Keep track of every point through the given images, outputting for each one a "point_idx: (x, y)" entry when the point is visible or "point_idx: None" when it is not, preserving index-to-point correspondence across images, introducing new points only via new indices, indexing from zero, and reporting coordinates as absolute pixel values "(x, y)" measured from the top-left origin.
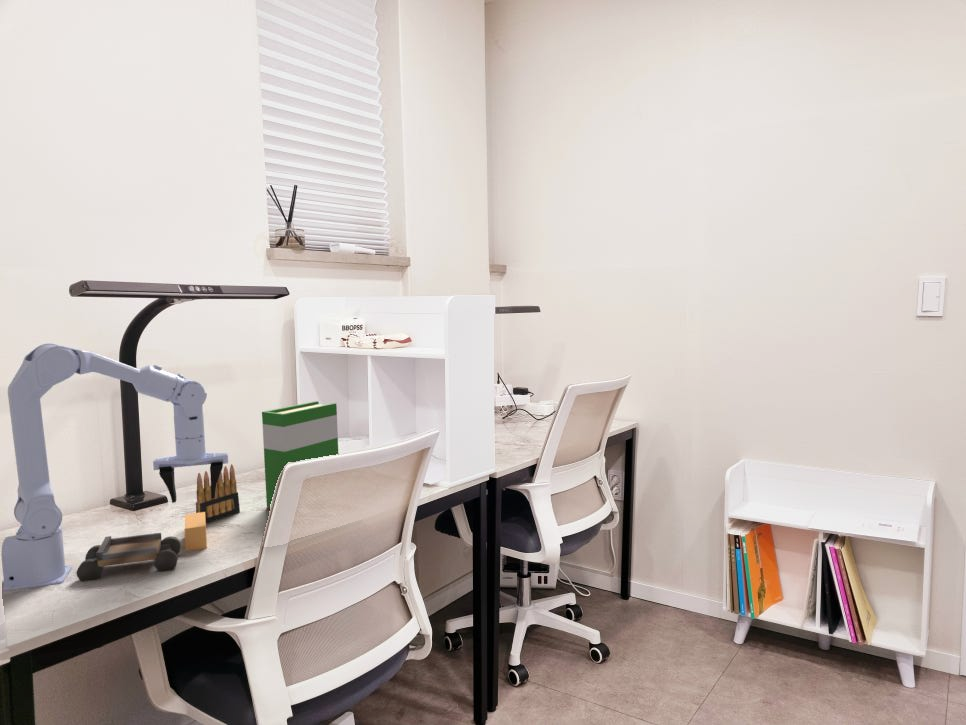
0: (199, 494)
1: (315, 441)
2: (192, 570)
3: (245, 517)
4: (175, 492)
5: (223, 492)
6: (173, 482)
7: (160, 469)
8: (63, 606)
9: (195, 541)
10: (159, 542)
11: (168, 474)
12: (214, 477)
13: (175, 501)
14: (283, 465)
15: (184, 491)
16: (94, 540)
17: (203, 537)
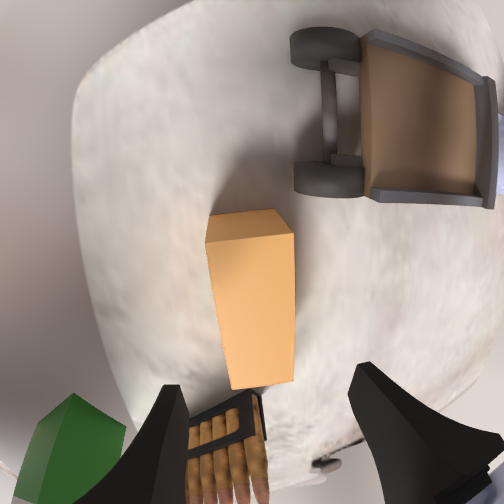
0: (258, 456)
1: (20, 502)
2: (237, 36)
3: (152, 402)
4: (363, 416)
5: (201, 463)
6: (399, 449)
7: (485, 477)
8: (455, 12)
9: (245, 219)
10: (373, 141)
11: (475, 462)
12: (126, 484)
13: (359, 366)
14: (49, 480)
15: (287, 480)
16: (440, 334)
17: (216, 225)
